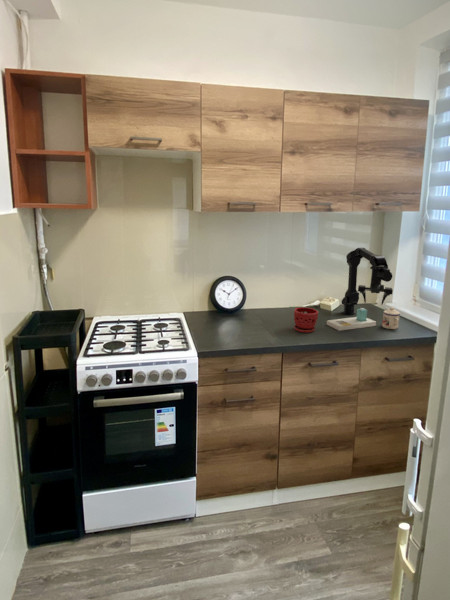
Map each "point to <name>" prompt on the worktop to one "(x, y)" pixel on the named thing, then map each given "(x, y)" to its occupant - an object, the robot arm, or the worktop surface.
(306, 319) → the plant pot
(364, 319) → the plug
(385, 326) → the teacup with lid
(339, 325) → the panel
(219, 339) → the worktop surface
